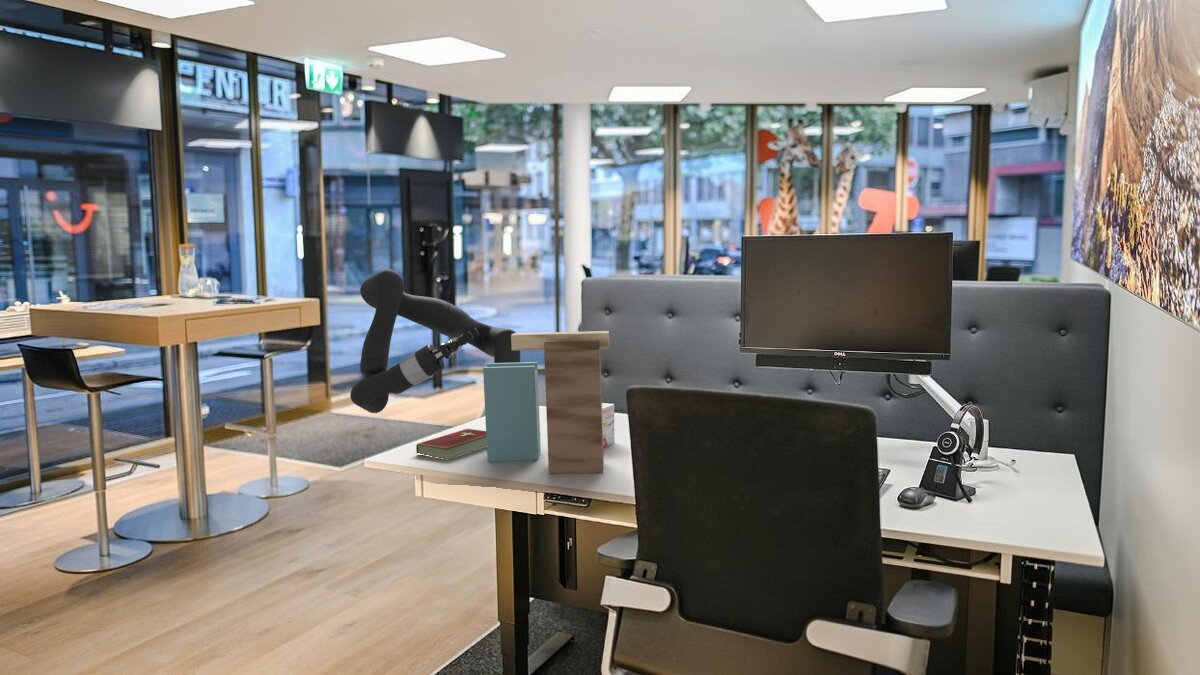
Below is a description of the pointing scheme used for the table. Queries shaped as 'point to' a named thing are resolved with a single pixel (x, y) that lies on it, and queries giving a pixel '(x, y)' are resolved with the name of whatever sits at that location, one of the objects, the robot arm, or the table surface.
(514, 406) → the teal tall block
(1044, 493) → the table surface
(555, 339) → the oak block
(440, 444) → the hardcover book
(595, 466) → the walnut stand
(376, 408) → the robot arm
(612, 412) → the ink cartridge box
